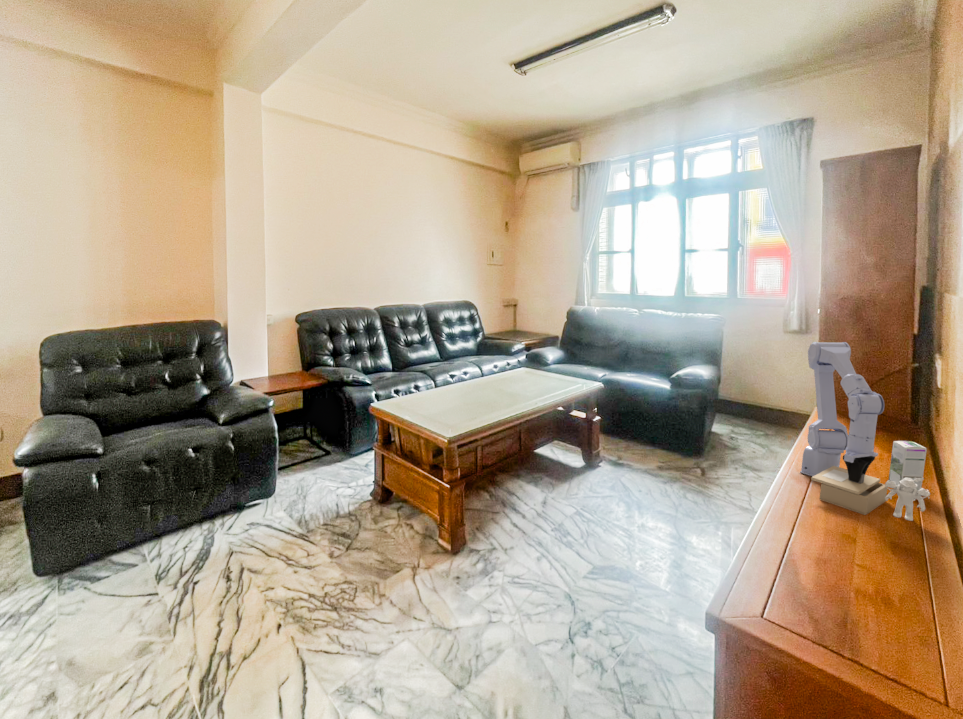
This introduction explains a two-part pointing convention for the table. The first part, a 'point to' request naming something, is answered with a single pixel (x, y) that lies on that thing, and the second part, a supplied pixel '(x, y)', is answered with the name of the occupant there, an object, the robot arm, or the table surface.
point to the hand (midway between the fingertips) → (855, 479)
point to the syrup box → (907, 462)
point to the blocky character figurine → (907, 496)
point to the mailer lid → (845, 480)
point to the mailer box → (855, 497)
